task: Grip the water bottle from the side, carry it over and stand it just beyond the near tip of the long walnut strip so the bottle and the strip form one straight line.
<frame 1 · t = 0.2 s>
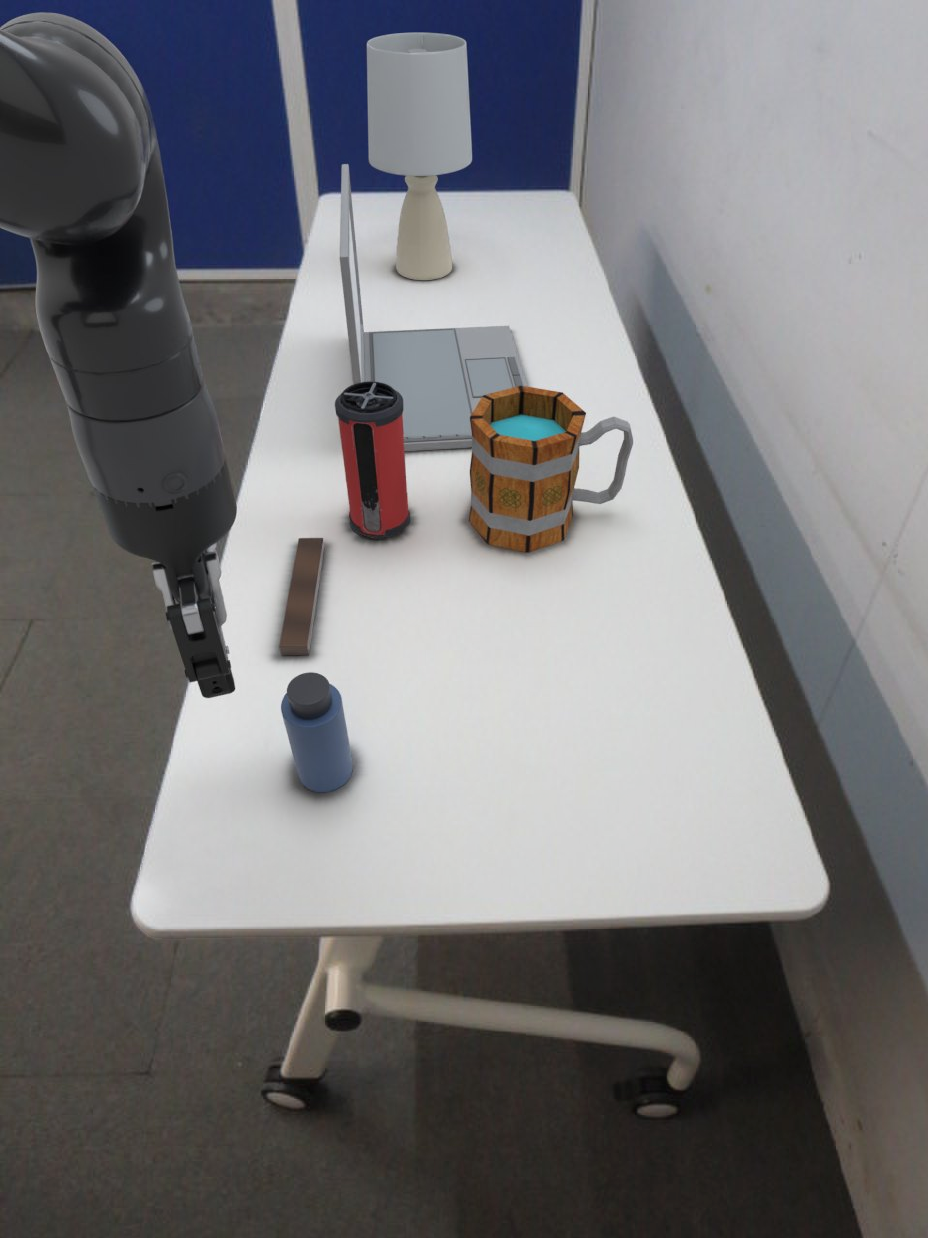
hand: (212, 647, 57), 22 cm above the table, tool pointing down, fingers open, 8 cm apart
speaker: (380, 522, 102), on the table
water bottle: (325, 769, 76), on the table
lamp: (424, 270, 158), on the table
walnut strip: (304, 597, 92), on the table
laptop: (441, 388, 126), on the table
mug: (544, 518, 103), on the table
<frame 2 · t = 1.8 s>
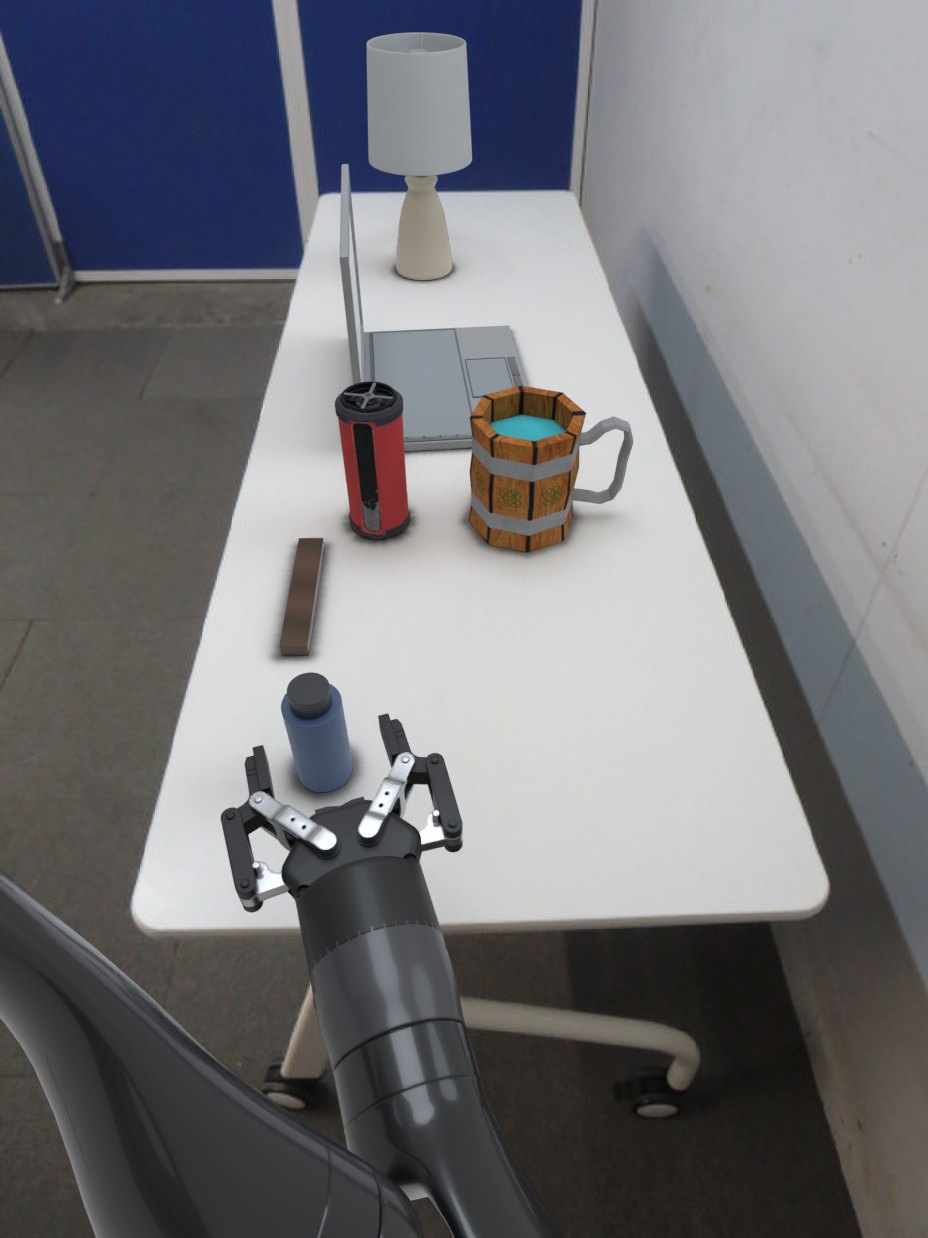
hand: (322, 737, 55), 20 cm above the table, tool horizontal, fingers open, 8 cm apart
nothing on the table moved.
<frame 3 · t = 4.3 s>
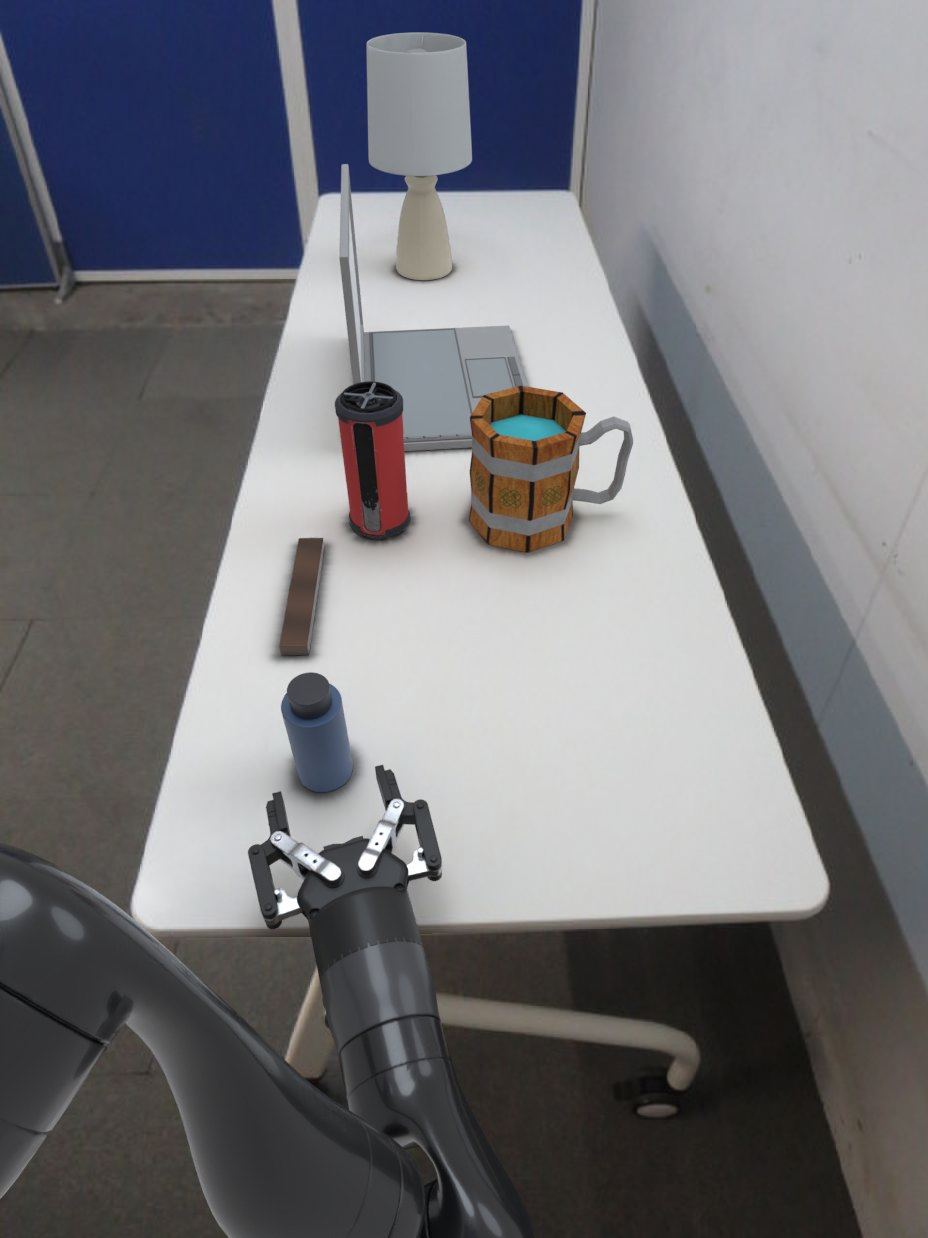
hand: (329, 783, 67), 7 cm above the table, tool horizontal, fingers open, 8 cm apart
nothing on the table moved.
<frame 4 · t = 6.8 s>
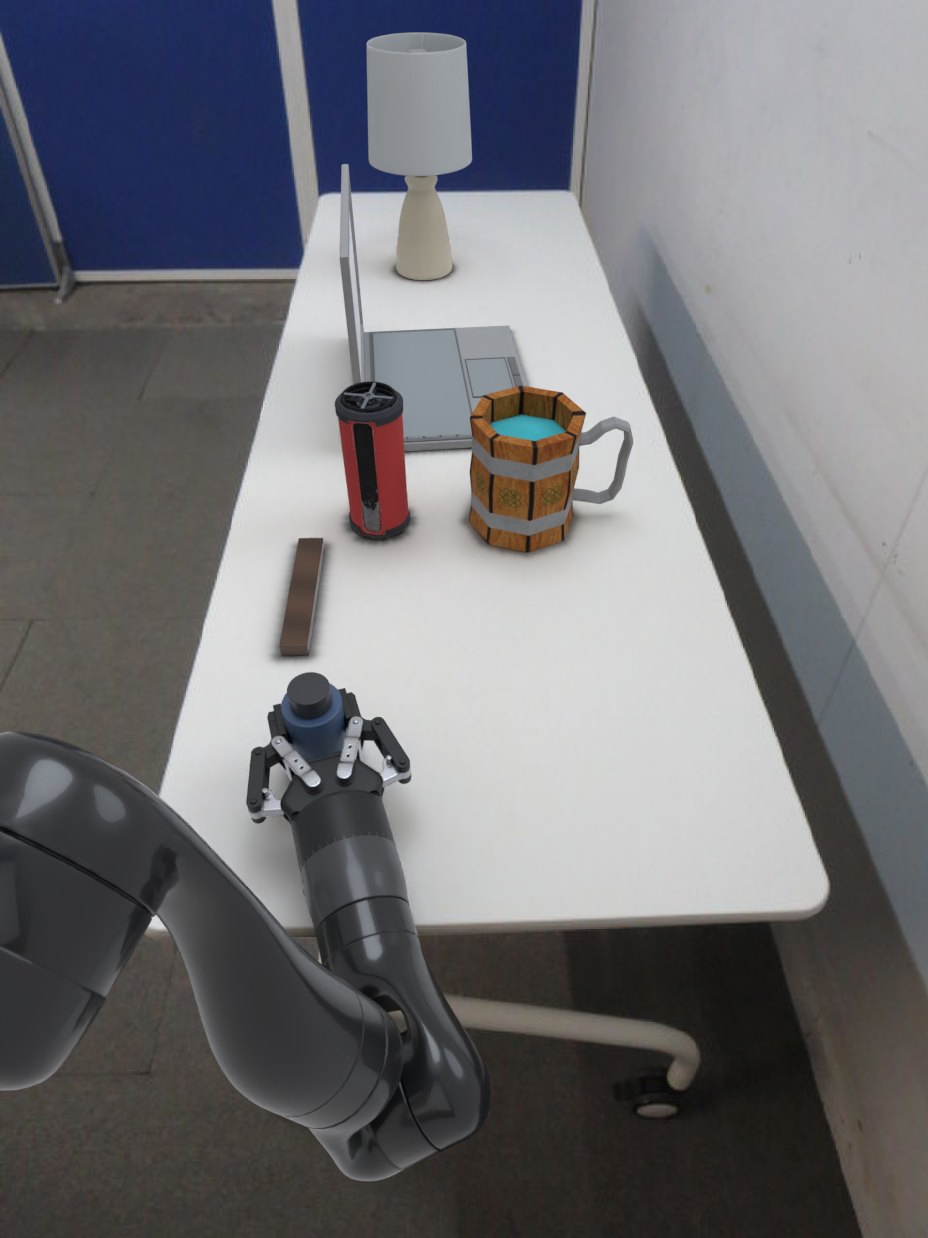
hand: (310, 702, 73), 7 cm above the table, tool horizontal, fingers closed on water bottle, 5 cm apart
water bottle: (325, 769, 76), on the table, touching gripper
everything else where it was.
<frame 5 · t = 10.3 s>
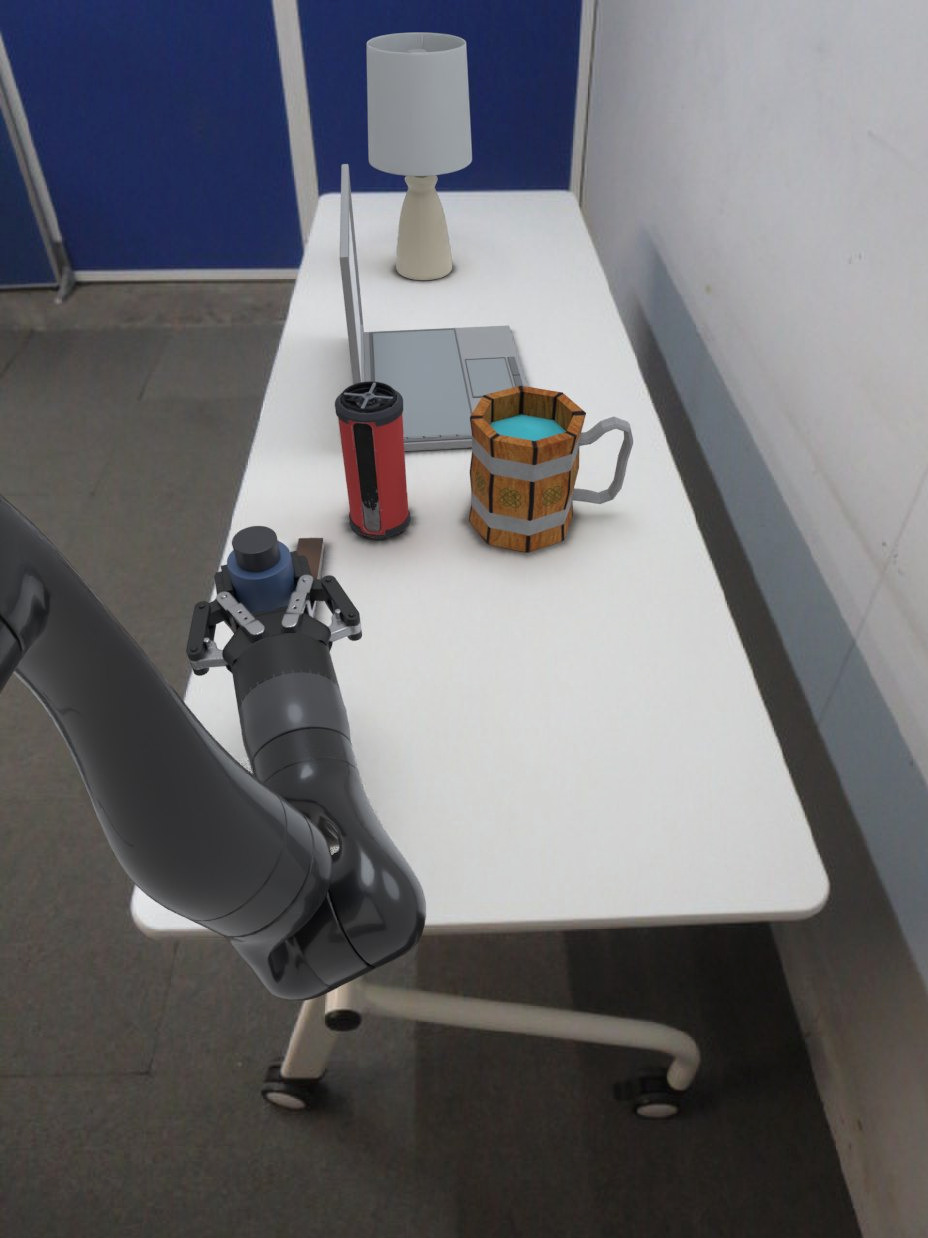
hand: (260, 565, 70), 18 cm above the table, tool horizontal, fingers closed on water bottle, 5 cm apart
water bottle: (278, 641, 73), point 11 cm above the table, touching gripper
everything else where it was.
when the fingers open (7 cm above the table, at t = 13.8 s): water bottle stays where it is, on the table.
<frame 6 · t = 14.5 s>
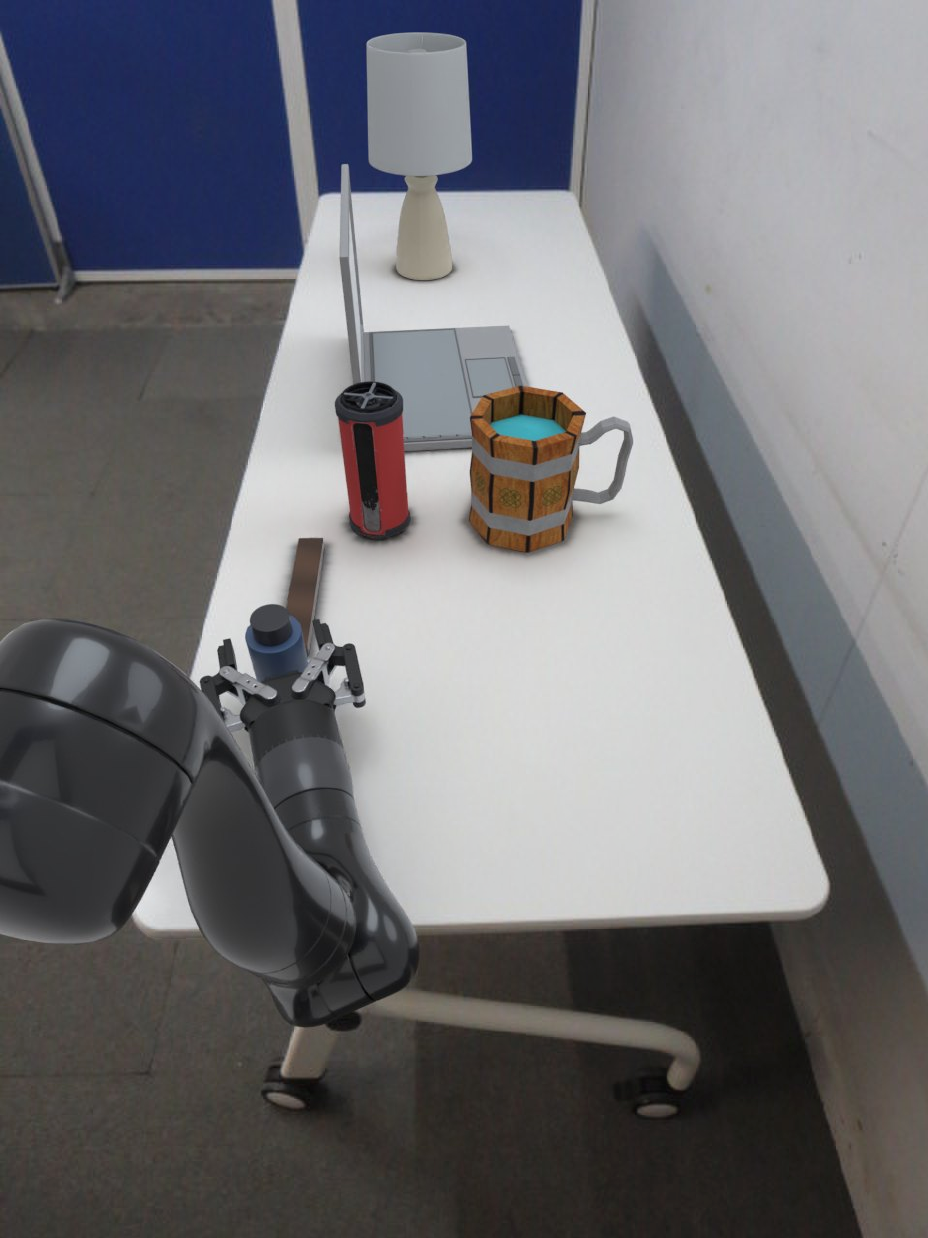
hand: (272, 634, 78), 8 cm above the table, tool horizontal, fingers open, 8 cm apart
water bottle: (289, 699, 82), on the table
everything else where it was.
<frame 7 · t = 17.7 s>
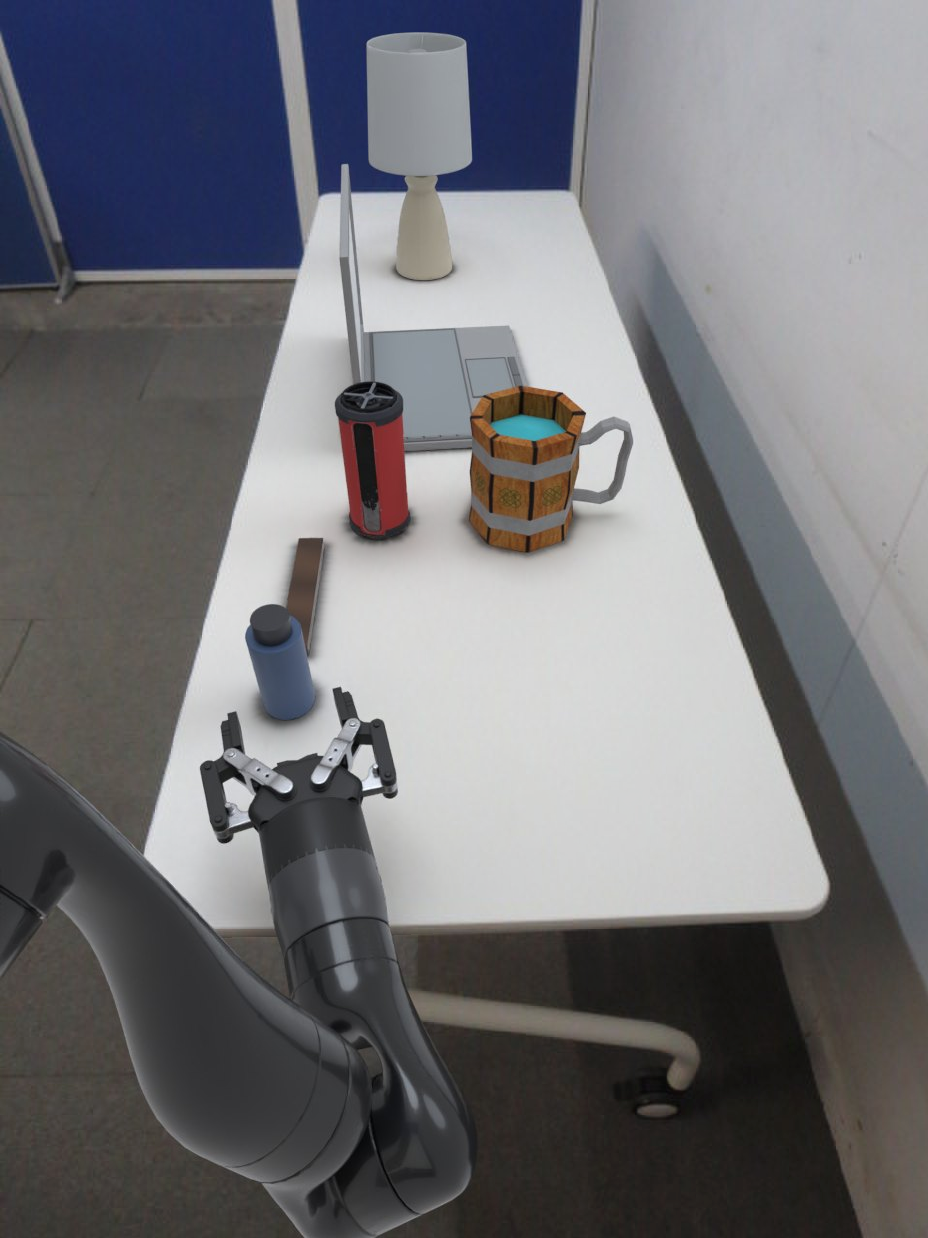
hand: (286, 705, 66), 12 cm above the table, tool horizontal, fingers open, 8 cm apart
nothing on the table moved.
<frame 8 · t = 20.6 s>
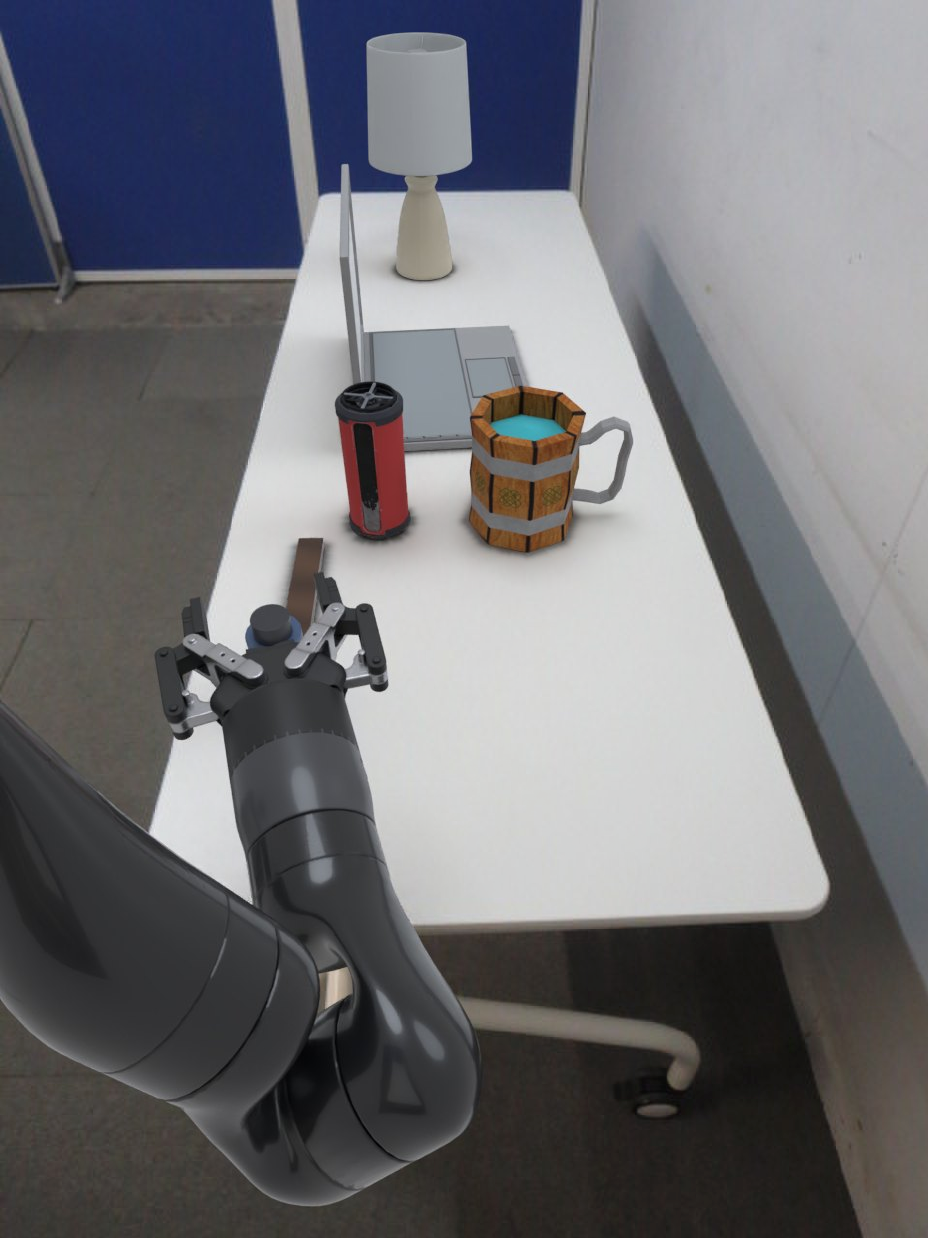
hand: (259, 593, 57), 25 cm above the table, tool horizontal, fingers open, 8 cm apart
nothing on the table moved.
at the end: water bottle 0.1 cm from the target spot on the table beside the walnut strip, on the table; water bottle tilted 0°; the gripper is holding nothing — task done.
